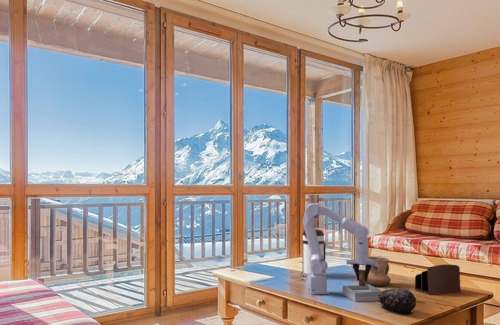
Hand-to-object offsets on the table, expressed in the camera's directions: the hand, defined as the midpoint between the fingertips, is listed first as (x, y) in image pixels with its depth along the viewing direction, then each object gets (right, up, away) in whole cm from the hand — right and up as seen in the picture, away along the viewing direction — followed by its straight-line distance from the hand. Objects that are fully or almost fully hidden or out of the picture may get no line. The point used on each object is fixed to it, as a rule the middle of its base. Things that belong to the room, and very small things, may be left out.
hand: (362, 280), depth 200 cm
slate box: (0, -8, -1) cm, 8 cm away
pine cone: (+8, -7, -22) cm, 24 cm away
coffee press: (-16, -11, +47) cm, 51 cm away
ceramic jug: (+15, -10, +26) cm, 32 cm away
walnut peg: (0, -2, 0) cm, 2 cm away
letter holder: (+41, -9, +12) cm, 44 cm away
